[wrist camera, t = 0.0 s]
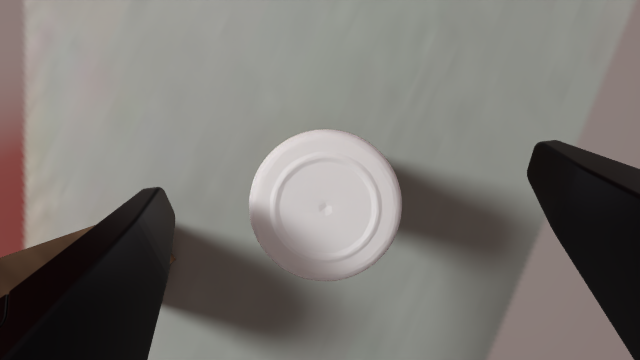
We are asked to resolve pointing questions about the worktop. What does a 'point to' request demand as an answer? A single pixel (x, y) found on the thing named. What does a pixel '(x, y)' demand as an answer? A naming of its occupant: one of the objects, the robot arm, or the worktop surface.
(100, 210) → the worktop surface
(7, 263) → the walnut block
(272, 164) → the sprinkles bottle
